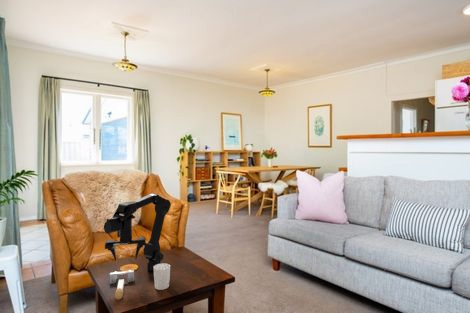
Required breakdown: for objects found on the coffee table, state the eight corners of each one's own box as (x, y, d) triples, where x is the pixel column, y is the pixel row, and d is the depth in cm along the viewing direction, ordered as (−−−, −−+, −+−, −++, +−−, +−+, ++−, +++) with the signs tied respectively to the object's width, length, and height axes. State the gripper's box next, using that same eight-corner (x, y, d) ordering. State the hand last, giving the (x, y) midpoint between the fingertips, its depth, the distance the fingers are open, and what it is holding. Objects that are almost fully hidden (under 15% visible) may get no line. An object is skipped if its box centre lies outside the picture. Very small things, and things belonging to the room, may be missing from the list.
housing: (134, 275, 158) (134, 267, 158) (133, 281, 152) (133, 271, 152) (111, 278, 155) (111, 269, 155) (109, 283, 149) (109, 274, 149)
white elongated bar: (118, 284, 148) (118, 277, 148) (125, 283, 149) (124, 277, 149) (114, 300, 133) (114, 293, 133) (122, 299, 134) (122, 292, 134)
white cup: (155, 283, 150) (155, 263, 150) (171, 282, 151) (171, 263, 150) (152, 290, 142) (152, 270, 142) (169, 290, 143) (169, 269, 142)
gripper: (145, 223, 159) (145, 252, 160) (107, 225, 154) (107, 256, 154) (145, 228, 149) (145, 260, 149) (104, 231, 143) (104, 264, 144)
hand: (126, 259), depth 149 cm, fingers open, 9 cm apart
